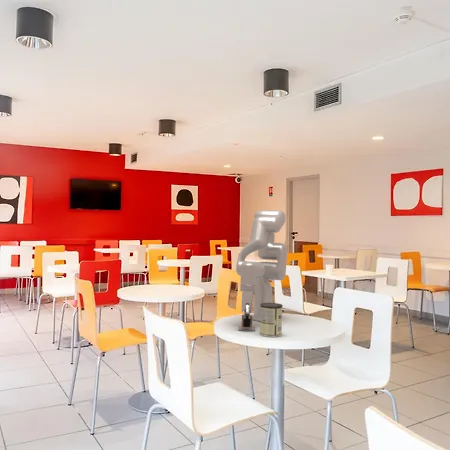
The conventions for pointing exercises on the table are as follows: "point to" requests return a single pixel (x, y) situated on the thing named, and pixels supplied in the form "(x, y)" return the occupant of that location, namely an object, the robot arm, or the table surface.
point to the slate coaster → (246, 328)
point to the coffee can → (271, 319)
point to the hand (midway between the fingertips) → (246, 325)
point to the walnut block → (250, 321)
